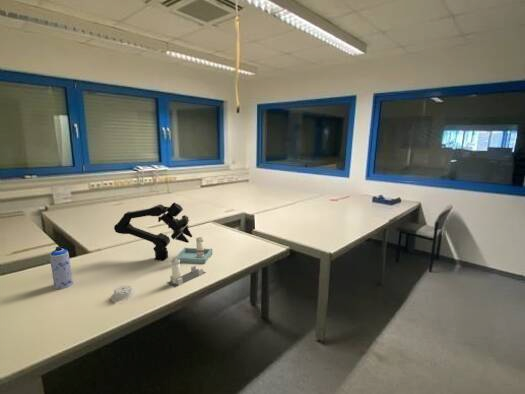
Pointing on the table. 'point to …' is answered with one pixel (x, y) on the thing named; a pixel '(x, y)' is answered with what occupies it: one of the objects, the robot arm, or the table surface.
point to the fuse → (175, 270)
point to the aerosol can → (61, 268)
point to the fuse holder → (187, 276)
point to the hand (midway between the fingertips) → (190, 239)
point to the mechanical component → (122, 293)
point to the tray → (193, 255)
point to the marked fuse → (200, 247)
